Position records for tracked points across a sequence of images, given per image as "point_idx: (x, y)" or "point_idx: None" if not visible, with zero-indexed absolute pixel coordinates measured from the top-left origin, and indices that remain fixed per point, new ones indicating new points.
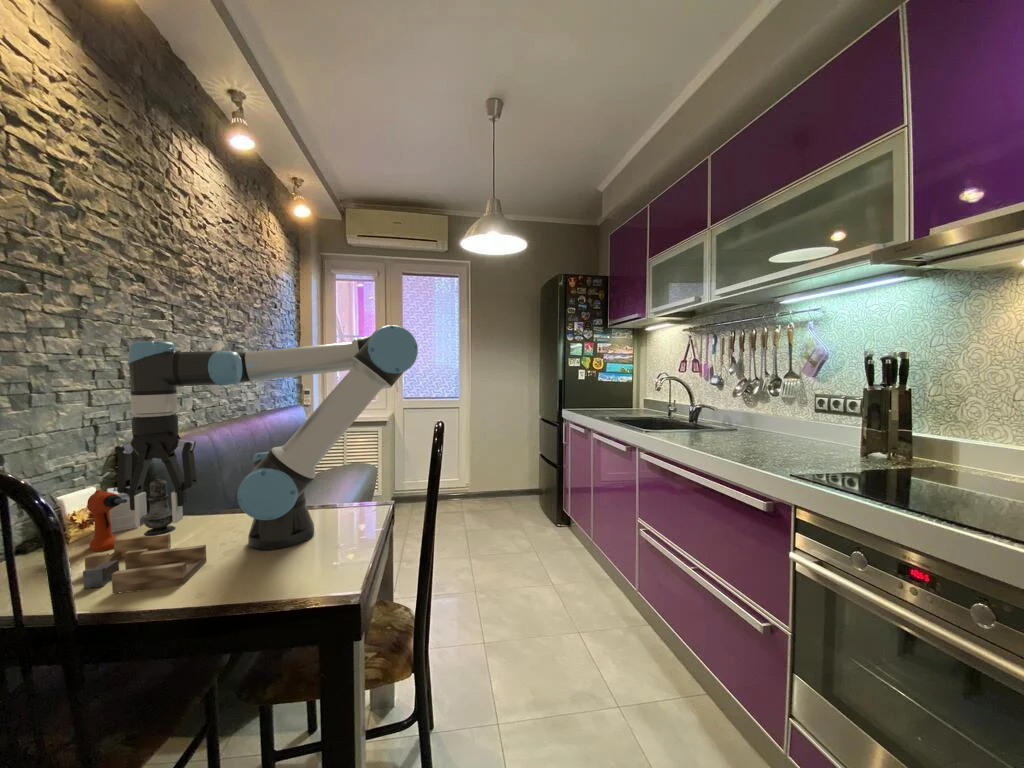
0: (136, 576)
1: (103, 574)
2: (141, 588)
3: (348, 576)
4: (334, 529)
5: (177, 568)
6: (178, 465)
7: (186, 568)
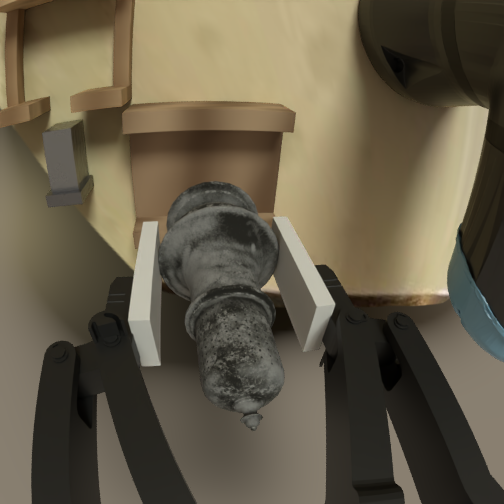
0: None
1: (86, 193)
2: None
3: None
4: None
5: None
6: (386, 440)
7: (262, 179)
